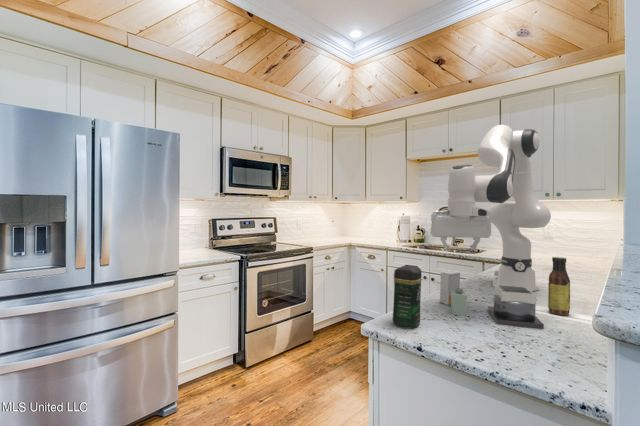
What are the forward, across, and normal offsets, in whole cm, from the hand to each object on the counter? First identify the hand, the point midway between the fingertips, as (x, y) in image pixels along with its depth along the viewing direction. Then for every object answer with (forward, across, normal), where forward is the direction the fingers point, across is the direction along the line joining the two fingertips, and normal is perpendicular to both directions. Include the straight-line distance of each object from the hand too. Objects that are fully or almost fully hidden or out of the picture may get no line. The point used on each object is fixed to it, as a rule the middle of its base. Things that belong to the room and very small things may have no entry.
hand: (459, 250), depth 114 cm
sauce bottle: (+22, +36, 0) cm, 42 cm away
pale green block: (+22, 0, 0) cm, 22 cm away
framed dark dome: (+22, +16, -6) cm, 28 cm away
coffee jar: (+22, -21, -11) cm, 33 cm away
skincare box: (+22, +2, +11) cm, 25 cm away
